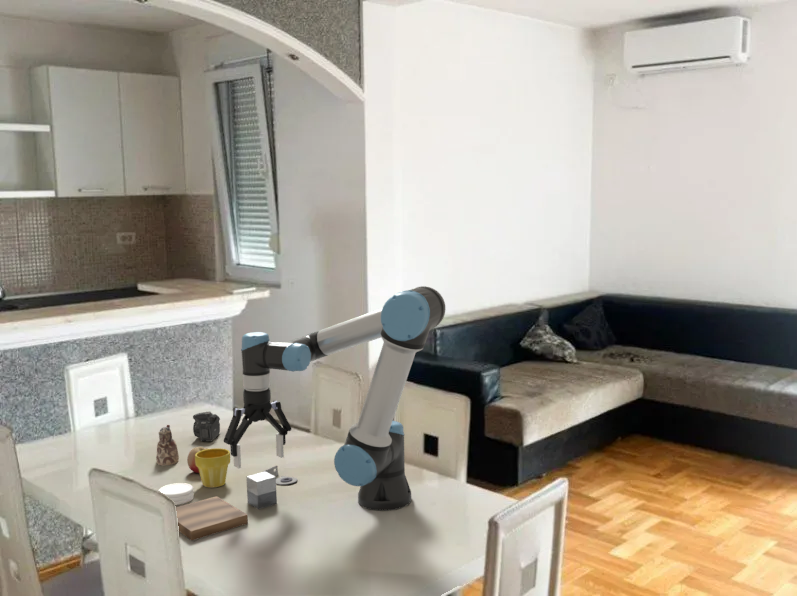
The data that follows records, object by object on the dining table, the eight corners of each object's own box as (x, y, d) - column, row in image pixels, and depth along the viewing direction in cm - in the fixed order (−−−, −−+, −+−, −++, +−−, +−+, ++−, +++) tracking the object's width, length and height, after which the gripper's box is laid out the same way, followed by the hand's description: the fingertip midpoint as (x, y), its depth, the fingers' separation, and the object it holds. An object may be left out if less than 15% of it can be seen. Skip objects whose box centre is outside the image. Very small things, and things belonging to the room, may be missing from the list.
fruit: (205, 477, 252) (204, 452, 251) (183, 474, 254) (182, 450, 253) (219, 468, 259) (217, 444, 258) (197, 466, 262) (196, 442, 261)
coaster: (157, 496, 237) (156, 485, 236) (191, 491, 240) (191, 480, 240) (159, 508, 227) (158, 496, 227) (195, 503, 231) (195, 491, 230)
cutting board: (247, 523, 215) (247, 514, 214) (191, 540, 205) (191, 531, 204) (217, 504, 229) (216, 496, 228) (163, 519, 219) (162, 510, 218)
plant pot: (217, 475, 253) (215, 445, 251) (238, 482, 246) (237, 451, 245) (189, 485, 245) (187, 454, 243) (211, 492, 238) (209, 460, 237)
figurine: (152, 464, 265) (150, 429, 263) (163, 457, 272) (161, 423, 270) (172, 465, 263) (169, 430, 262) (182, 459, 270) (180, 424, 268)
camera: (192, 434, 298) (191, 408, 297) (220, 431, 301) (218, 405, 300) (194, 444, 286) (193, 417, 284) (223, 441, 288) (221, 414, 287)
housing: (276, 503, 228) (275, 476, 227) (258, 509, 225) (256, 481, 224) (266, 498, 233) (265, 471, 232) (247, 503, 229) (246, 476, 228)
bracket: (287, 488, 241) (287, 477, 241) (262, 482, 247) (262, 471, 247) (301, 481, 247) (301, 470, 246) (277, 475, 252) (276, 465, 252)
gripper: (288, 378, 235) (290, 449, 238) (209, 392, 220) (212, 467, 222) (302, 383, 229) (303, 455, 232) (222, 398, 214) (225, 475, 217)
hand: (259, 461), depth 227 cm, fingers open, 13 cm apart
